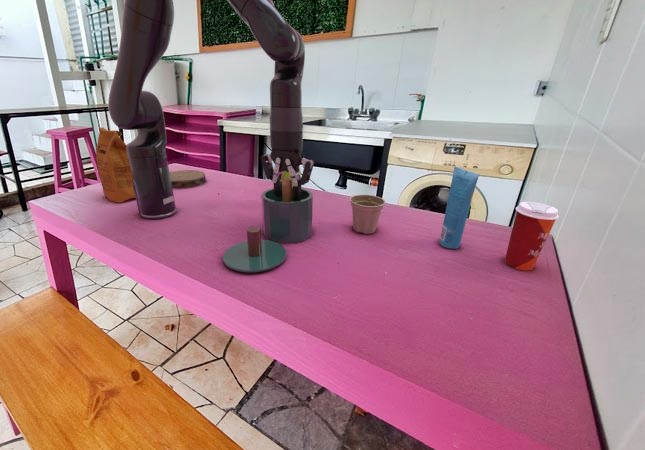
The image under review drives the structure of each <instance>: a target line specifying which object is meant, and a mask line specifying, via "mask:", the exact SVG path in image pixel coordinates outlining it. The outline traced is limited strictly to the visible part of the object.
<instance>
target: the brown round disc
mask: <svg viewBox="0 0 645 450" xmlns="http://www.w3.org/2000/svg"><path fill="white" fill-rule="evenodd" d="M169 172H170V177H171V183H172V189H173V190H175V189H177V190H178V189H179V190H180V189H189V188H190V189H191V188H196V187H200V186H202V185H205V183H206V182H207V180H206V172H204V171H202V170H195V169H185V170H181V169H180V170H174V171H169Z"/></svg>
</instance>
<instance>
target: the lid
mask: <svg viewBox="0 0 645 450" xmlns="http://www.w3.org/2000/svg"><path fill="white" fill-rule="evenodd" d="M286 258H287V250H286V248H285V247H284V246H283V244H282V243H279V242H274V241H271V240H269V239H262V229H261V227H259V226H249V227H247V228H246V240H244V241H239V242H238V243H235V244H233V245H231V246H230V247H228V248H226V250H225V251H224V253H223V255H222V261H223V263H224V265H225V266H226V267H227V268H229V269H230V270H233V271H236V272H239V273H260V272H261V273H262V272H267V271H269V270H272V269H274V268H276V267H279V265H281V264H282V263H283V262H285V260H286Z"/></svg>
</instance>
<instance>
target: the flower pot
mask: <svg viewBox="0 0 645 450" xmlns="http://www.w3.org/2000/svg"><path fill="white" fill-rule="evenodd" d="M349 202H350V206H351V210H352V229H353V230H354V231H355V232H356V233H362V234H364V235H370V234H374V233H375V232H376V230H377V227H378V222H379V219H380V215H381V212H382V210H383V208H384V206H385V205H386V200H385V199H384V198H382V197H380V196H376V195H373V194H355V195H352V196H351V197H349Z"/></svg>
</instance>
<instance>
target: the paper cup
mask: <svg viewBox="0 0 645 450" xmlns="http://www.w3.org/2000/svg"><path fill="white" fill-rule="evenodd" d="M515 211H516V212H515V216H514V221H513V224H512V227H511V228H512V229H511V233H510V237H509V240H508V245H507V248H506V253H505V258H504V262H505V264H507V266H509V267H510V268H513V269H516V270H518V271H525V272H528V271H532V270H533V269H534V267H535V265H536V263H537V261H538V260H539V257H540V255H541V252H542V251H543V248H544V246H545V244H546V242H547V240H548V238H549V235H550V234H551V231H552V229H553V227H554V225H555V222H556V220H558V219H559V217H560V216H559V210H558V209H557V208H556V207H555V206H552V205H549V204H546V203H542V202H537V201H521V202H519V204H518V206H516V207H515Z"/></svg>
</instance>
